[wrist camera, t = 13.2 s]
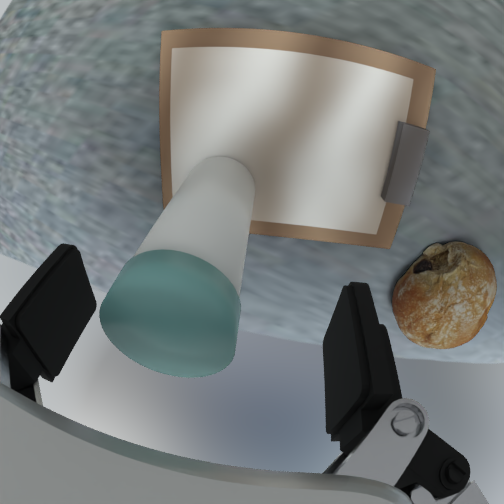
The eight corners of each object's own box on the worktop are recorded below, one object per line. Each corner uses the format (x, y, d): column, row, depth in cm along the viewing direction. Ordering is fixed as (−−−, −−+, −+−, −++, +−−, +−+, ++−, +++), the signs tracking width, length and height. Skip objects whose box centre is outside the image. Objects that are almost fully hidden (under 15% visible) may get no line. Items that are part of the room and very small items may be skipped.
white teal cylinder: (260, 153, 16) (238, 297, 7) (254, 217, 19) (233, 384, 9) (189, 149, 16) (82, 276, 7) (190, 211, 19) (119, 364, 9)
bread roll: (449, 207, 22) (476, 226, 15) (500, 287, 21) (529, 326, 14) (373, 274, 27) (370, 314, 20) (428, 343, 26) (435, 393, 19)
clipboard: (430, 68, 13) (444, 70, 11) (386, 242, 20) (394, 258, 19) (166, 32, 13) (154, 29, 11) (168, 220, 21) (159, 233, 19)
